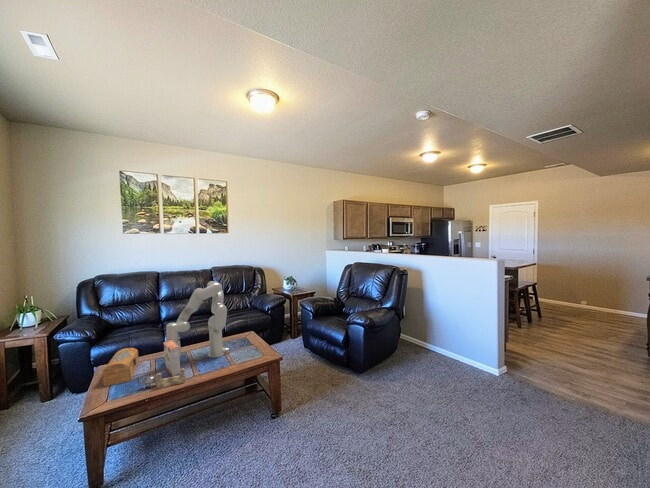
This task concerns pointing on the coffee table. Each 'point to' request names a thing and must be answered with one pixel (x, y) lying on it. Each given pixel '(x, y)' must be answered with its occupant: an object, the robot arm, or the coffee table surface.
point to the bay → (170, 380)
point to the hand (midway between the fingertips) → (173, 364)
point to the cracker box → (172, 358)
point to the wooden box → (121, 367)
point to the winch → (148, 380)
